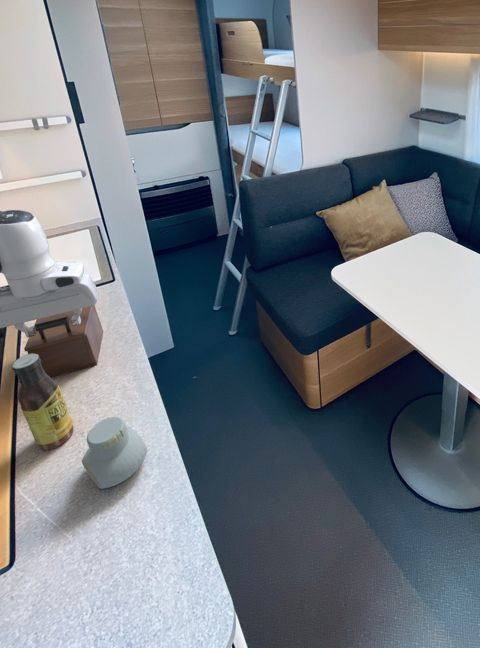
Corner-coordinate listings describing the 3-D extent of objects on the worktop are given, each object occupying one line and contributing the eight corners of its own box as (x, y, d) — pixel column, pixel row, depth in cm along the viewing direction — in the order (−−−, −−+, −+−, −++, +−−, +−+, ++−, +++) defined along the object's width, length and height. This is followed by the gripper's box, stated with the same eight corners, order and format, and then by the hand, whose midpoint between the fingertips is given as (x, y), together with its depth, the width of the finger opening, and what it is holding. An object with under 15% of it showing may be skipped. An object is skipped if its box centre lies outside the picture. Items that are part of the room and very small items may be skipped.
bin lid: (85, 335, 97) (79, 318, 96) (25, 351, 93) (17, 334, 91) (93, 302, 109) (88, 286, 108) (40, 315, 105) (34, 298, 103)
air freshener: (82, 468, 78) (66, 431, 74) (126, 435, 84) (114, 399, 80) (110, 503, 72) (94, 465, 68) (155, 464, 78) (143, 427, 74)
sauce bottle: (69, 446, 82) (36, 371, 74) (32, 455, 80) (-6, 379, 73) (80, 419, 88) (51, 346, 80) (46, 426, 86) (13, 353, 78)
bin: (97, 364, 102) (85, 333, 98) (40, 381, 97) (26, 349, 94) (103, 331, 113) (93, 302, 109) (52, 345, 109) (40, 315, 105)
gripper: (-31, 300, 84) (-6, 352, 89) (86, 275, 92) (103, 324, 97) (-20, 284, 89) (3, 334, 95) (90, 261, 97) (106, 309, 103)
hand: (54, 329), depth 96 cm, fingers open, 7 cm apart
